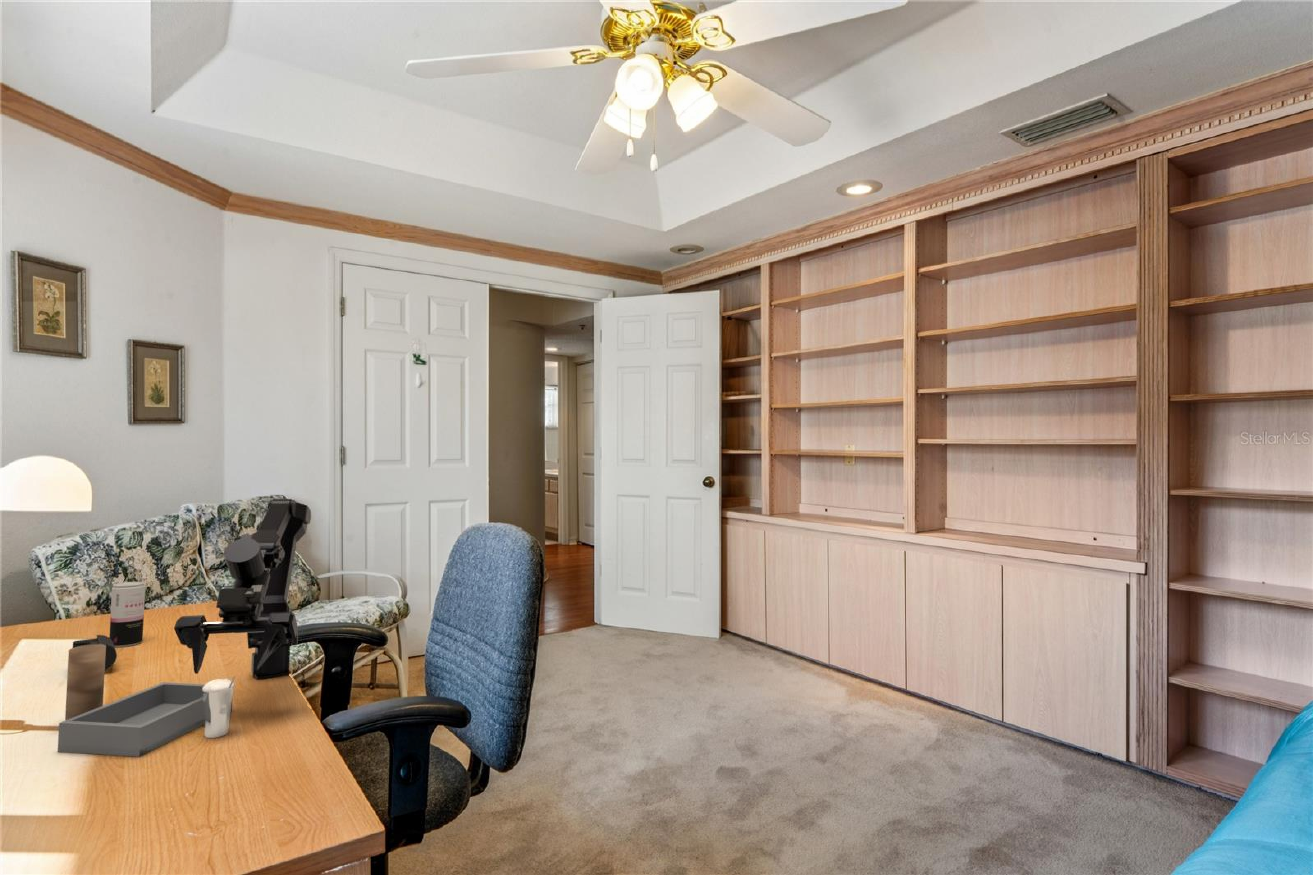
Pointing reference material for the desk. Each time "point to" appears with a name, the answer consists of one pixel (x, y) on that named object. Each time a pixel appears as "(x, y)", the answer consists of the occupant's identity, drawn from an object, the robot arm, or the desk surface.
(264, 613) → the robot arm
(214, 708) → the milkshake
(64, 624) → the desk surface
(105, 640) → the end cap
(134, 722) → the tray
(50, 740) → the desk surface
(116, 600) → the beverage can
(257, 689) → the desk surface
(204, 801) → the desk surface
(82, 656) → the walnut cylinder
